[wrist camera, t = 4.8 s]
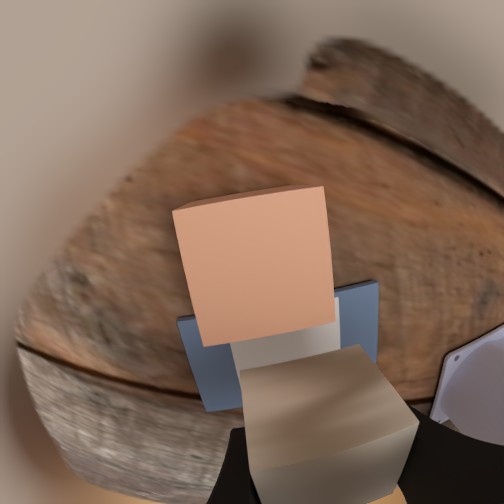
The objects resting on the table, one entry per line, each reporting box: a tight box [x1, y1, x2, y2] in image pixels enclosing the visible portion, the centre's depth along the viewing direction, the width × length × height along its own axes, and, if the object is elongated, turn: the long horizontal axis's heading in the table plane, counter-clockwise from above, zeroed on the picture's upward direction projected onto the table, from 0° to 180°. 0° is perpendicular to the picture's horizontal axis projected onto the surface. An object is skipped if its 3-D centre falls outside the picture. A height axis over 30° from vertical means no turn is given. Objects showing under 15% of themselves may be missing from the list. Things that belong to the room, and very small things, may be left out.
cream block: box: [239, 344, 419, 504], centre depth 8 cm, size 4×4×4 cm
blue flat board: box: [177, 280, 379, 412], centre depth 14 cm, size 10×6×1 cm, turn 100°
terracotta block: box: [172, 185, 336, 347], centre depth 11 cm, size 4×4×4 cm
